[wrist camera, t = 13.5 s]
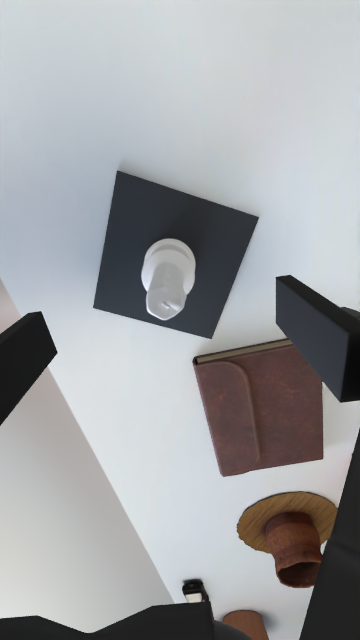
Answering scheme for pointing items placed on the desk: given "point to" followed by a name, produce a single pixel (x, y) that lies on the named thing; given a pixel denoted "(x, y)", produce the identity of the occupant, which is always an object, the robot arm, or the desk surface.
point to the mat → (170, 223)
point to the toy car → (195, 593)
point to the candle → (167, 277)
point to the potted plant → (247, 624)
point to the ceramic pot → (290, 534)
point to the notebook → (261, 406)
